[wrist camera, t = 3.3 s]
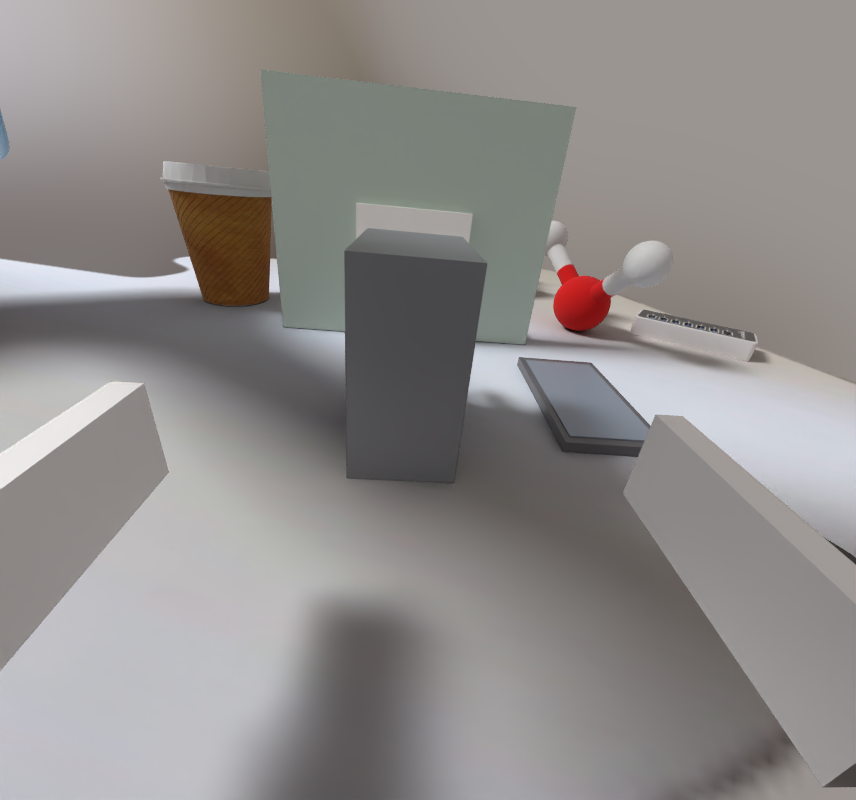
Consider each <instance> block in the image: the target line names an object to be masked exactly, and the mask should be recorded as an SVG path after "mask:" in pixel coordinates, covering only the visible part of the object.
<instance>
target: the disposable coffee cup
mask: <svg viewBox="0 0 856 800" xmlns="http://www.w3.org/2000/svg"><path fill="white" fill-rule="evenodd" d="M160 179H161V180H162V181H164V183H165V187H166V189H168V190H169V193H170V196H171V199H172V202H173V205H174V209H175V212H176V215H177V218H178V221H179V224H180V227H181V230H182V233H183V236H184V240H185V243H186V246H187V249H188V252H189V255H190V259H191V262H192V265H193V268H194V271H195V274H196V277H197V281H198V283H199V287H200V290H201V293H202V296H203V299H204V300H205V301H206V302H209V303H212V304H216V305H224V306H246V305H253V304H258V303H261V302H264V301H266V300H268V299H269V276H270V237H271V203H272V196H271V184H270V175H269V172H267V171H258V170H248V169H237V168H228V167H217V166H208V165H198V164H188V163H177V162H166V161H164V162H163V177H160Z"/></svg>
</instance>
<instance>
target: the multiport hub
mask: <svg viewBox="0 0 856 800" xmlns="http://www.w3.org/2000/svg"><path fill="white" fill-rule="evenodd" d="M630 333H631V334H634V335H638V336H642V337H646V338H650V339H655V340H659V341H663V342H667V343H671V344H675V345H679V346H683V347H688V348H692V349H696V350H700V351H704V352H708V353H712V354H716V355H721V356H725V357H729V358H733V359H737V360H741V361H746V362H748V361H749V360H750V358H751V356H752V354H753V352H754V350H755V348H756V346H757V344H758V341H757V337H756V335H755V334H754V333H751V332H746V331H742V330H737V329H732V328H728V327H723V326H719V325H714V324H709V323H704V322H699V321H695V320H690V319H685V318H681V317H676V316H672V315H667V314H662V313H658V312H653V311H648V310H641V311H640V312H639V313H638V314H637V315H636V316H635V319H634V322H633V324H632V327H631V330H630Z"/></svg>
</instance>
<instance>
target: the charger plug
mask: <svg viewBox="0 0 856 800" xmlns="http://www.w3.org/2000/svg"><path fill="white" fill-rule="evenodd" d="M487 264H488V263H487V262H486V261H485V260H484V259H483V258H482V257H481V256H480V255H479V254H478V253H477V251H476V250H475V249H474V248H473V247H472V246H471V245H470V244H469V243H468V242H467V241H466V240H465V239H464V238H463V237H460V236H449V235H438V234H427V233H417V232H406V231H395V230H384V229H373V228H367V229H366V230H365V231H364V232H363V233H362V234H361V235H360V236H359V237H358V238H357V239H356V240H355V241H354V242H353V243H352V244H351V245H349V246H348V247H347V248H346V249H345V250H344V273H345V366H346V459H347V478H355V479H376V480H397V481H419V482H440V483H454V478H455V472H456V465H457V459H458V452H459V446H460V439H461V433H462V426H463V420H464V413H465V407H466V400H467V394H468V387H469V381H470V374H471V368H472V361H473V355H474V348H475V342H476V335H477V329H478V322H479V316H480V309H481V303H482V297H483V290H484V284H485V277H486V271H487Z"/></svg>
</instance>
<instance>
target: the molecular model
mask: <svg viewBox="0 0 856 800" xmlns="http://www.w3.org/2000/svg"><path fill="white" fill-rule="evenodd" d="M567 241H568V233H567V230H566V228H565V227H564V225H563V224H561V223H560V222H557V221H552V222H551V226H550V231H549V235H548V240H547V245H546V249H545V254H544V256H549V258H550V259H551V262H552V264H553V266H554V268H555V271H556V273H557V275H558V277H559V279H560V281H561V284H562V286H561V287H560V288H559V290H558V291H557V293H556V295H555V298H554V304H553V308H554V313H555V316H556V318H557V319H558V321H559V322H560V323H561V324H562V325H563V326H565V327H566V328H568V329H571V330H575V331H584V330H588V329H591V328H593V327H595V326H597V325H598V324H600V323H601V322H602V321H603V320H604V318H605V317H606V316H607V314H608V312H609V309H610V304H611V297H612V296H614V295H616V294H618V293H620V292H621V291H623V290H625V289H627V288H629V287H630V286H632V285H635V286H638V287H651V286H654V285H656V284H658V283H660V282H661V281H663V280H664V279H665V278H666V277H667V276H668V274H669V273H670V271H671V269H672V266H673V255H672V252H671V250H670V249H669V247H668V246H667V245H665V244H663V243H661V242H659V241H646V242H642V243H640V244H638V245H636V246H635V247H634V248H632V249H631V250H630V251H629V253H628V254H627V256H626V257H625V260H624V264H623V267H622V268H621V269H619V270H618V271H616V272H614V273H613V274H611V275H610V276H608V277H606V278H605V279H603V280H602V281H600V280H598V279H596V278H594V277H590V276H578V274H577V272H576V270H575V268H574V266H573V264H572V261H571V259H570V257H569V255H568V253H567V251H566V249H565V246H566V244H567Z"/></svg>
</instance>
